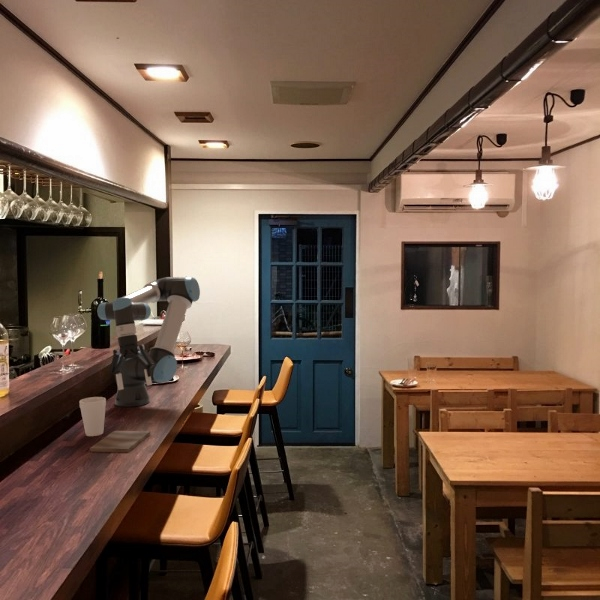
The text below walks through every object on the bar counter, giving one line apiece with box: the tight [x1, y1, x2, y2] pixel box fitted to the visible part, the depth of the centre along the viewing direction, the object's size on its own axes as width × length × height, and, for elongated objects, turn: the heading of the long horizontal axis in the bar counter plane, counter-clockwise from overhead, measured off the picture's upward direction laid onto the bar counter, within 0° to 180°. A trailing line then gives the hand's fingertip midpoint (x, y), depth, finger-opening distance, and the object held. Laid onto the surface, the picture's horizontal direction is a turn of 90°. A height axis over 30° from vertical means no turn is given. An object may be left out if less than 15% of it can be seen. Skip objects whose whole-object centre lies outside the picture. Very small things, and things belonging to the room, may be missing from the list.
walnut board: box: [89, 430, 151, 453], centre depth 219 cm, size 20×14×1 cm
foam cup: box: [79, 396, 107, 437], centre depth 231 cm, size 10×9×13 cm
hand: (135, 387), depth 246 cm, fingers open, 13 cm apart
